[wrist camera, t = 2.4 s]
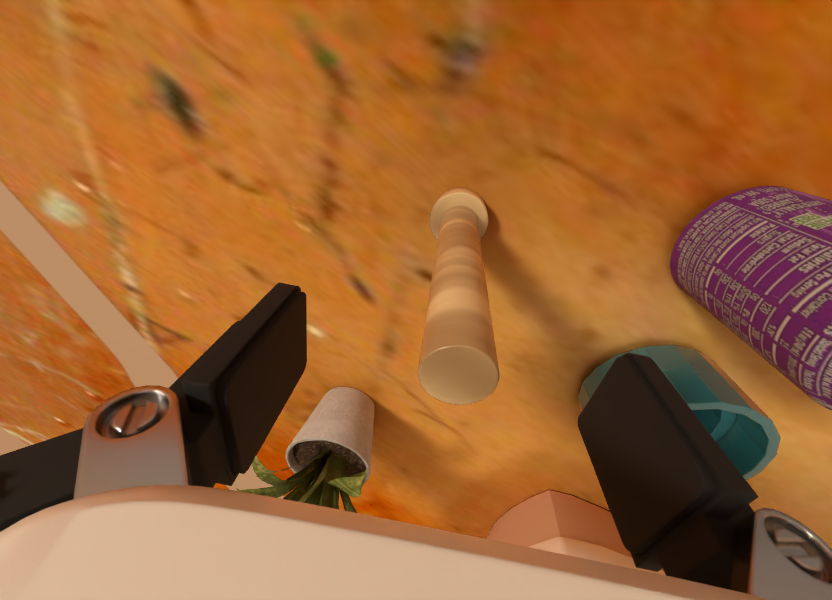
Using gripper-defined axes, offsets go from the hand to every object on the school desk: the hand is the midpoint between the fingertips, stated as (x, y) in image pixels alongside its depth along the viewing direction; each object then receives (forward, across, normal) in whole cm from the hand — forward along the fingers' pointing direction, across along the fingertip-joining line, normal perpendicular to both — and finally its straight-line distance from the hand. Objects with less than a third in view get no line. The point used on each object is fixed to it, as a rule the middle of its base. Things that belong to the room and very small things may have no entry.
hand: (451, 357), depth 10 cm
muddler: (+14, 0, 0) cm, 14 cm away
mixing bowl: (+14, -18, +11) cm, 25 cm away
